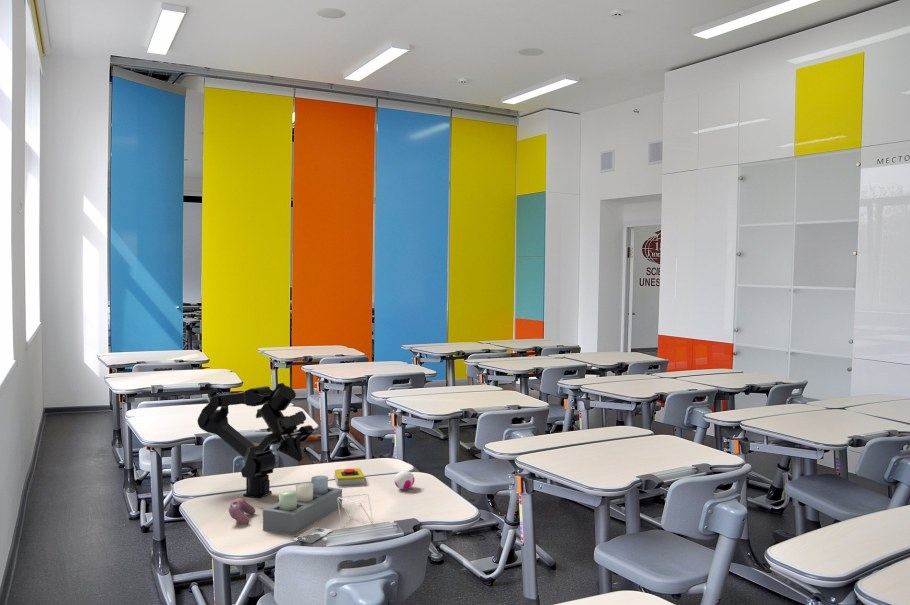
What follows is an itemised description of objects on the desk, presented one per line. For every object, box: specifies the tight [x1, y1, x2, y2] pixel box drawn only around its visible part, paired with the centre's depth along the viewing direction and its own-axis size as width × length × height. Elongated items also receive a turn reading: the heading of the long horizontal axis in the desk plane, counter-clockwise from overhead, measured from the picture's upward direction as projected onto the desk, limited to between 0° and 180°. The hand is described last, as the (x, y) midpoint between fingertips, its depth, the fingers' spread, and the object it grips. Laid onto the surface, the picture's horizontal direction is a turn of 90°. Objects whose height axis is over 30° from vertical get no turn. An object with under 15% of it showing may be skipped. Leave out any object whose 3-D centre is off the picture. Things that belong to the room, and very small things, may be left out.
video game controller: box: [228, 497, 256, 526], centre depth 196 cm, size 10×5×7 cm, turn 5°
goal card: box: [292, 526, 334, 542], centre depth 184 cm, size 6×10×1 cm, turn 159°
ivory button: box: [295, 482, 313, 503], centre depth 198 cm, size 5×5×5 cm
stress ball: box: [393, 470, 415, 491], centre depth 227 cm, size 8×8×7 cm
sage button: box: [278, 489, 297, 512], centre depth 190 cm, size 5×5×5 cm
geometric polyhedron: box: [337, 493, 374, 530], centre depth 193 cm, size 10×9×8 cm
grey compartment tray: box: [262, 486, 343, 536], centre depth 198 cm, size 10×25×6 cm, turn 159°
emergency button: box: [333, 467, 366, 489], centre depth 236 cm, size 9×4×15 cm
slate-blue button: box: [310, 475, 329, 495], centre depth 205 cm, size 5×5×5 cm
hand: (301, 460), depth 209 cm, fingers closed
